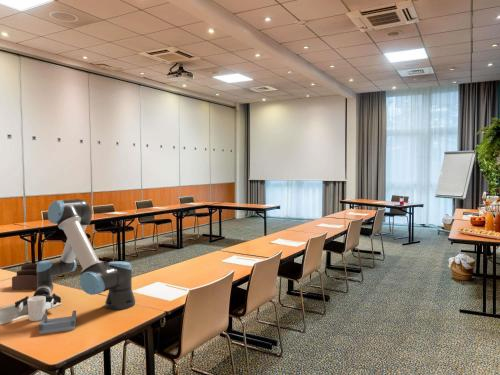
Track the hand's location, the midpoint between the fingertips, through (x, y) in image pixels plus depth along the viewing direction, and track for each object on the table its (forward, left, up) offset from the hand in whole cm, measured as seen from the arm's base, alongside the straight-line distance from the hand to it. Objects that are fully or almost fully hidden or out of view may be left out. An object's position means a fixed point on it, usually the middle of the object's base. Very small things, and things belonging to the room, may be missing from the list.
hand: (35, 307), depth 183 cm
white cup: (0, -1, -6) cm, 6 cm away
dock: (-13, +11, -6) cm, 18 cm away
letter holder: (+21, -59, -6) cm, 63 cm away
